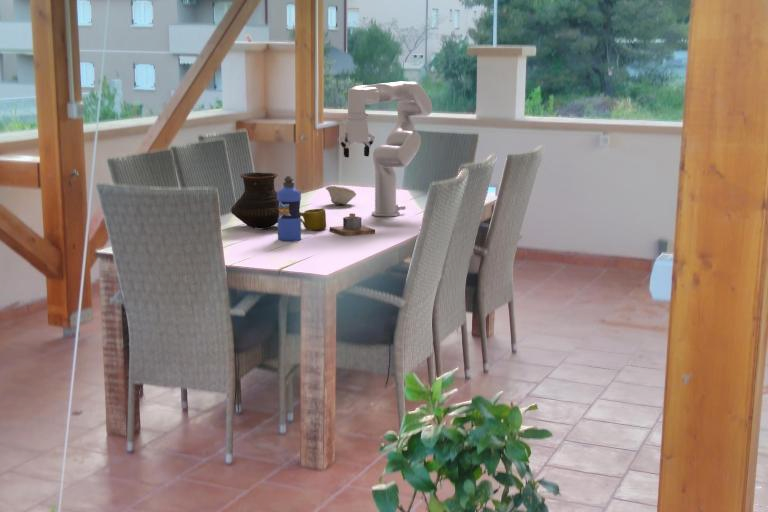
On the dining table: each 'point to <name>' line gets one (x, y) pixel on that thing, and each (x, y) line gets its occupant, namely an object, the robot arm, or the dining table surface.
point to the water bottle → (289, 212)
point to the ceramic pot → (257, 201)
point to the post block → (352, 232)
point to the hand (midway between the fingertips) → (356, 156)
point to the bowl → (340, 194)
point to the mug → (314, 219)
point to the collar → (352, 223)
